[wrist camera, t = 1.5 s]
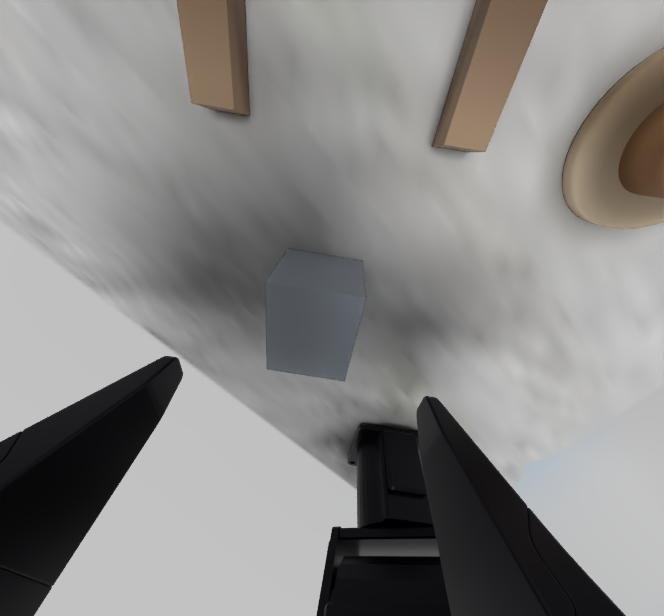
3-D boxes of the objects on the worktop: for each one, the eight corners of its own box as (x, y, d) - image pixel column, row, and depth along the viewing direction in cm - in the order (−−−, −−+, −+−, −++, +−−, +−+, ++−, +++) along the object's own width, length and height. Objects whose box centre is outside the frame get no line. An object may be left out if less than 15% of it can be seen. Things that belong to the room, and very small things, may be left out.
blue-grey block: (346, 332, 15) (344, 381, 12) (285, 322, 15) (266, 369, 12) (362, 260, 13) (365, 298, 9) (288, 247, 13) (265, 281, 9)
